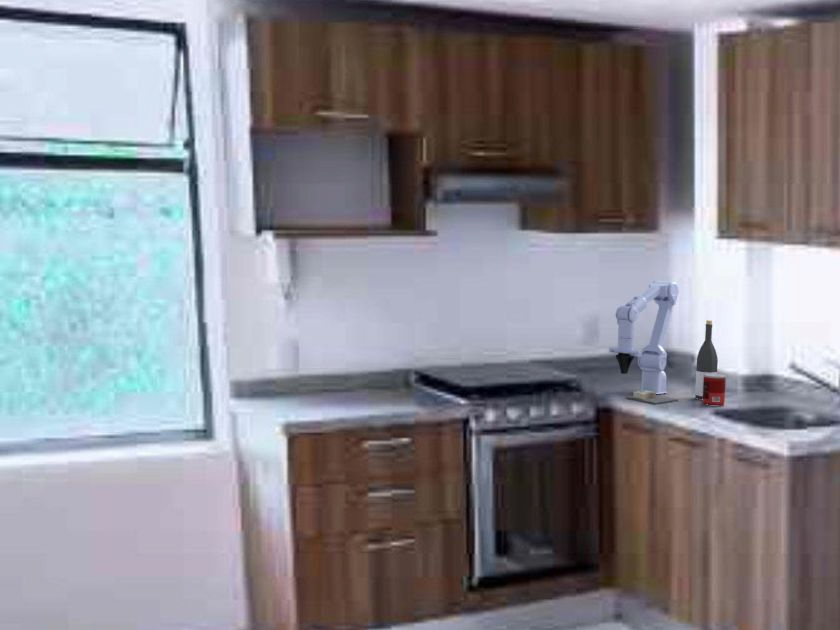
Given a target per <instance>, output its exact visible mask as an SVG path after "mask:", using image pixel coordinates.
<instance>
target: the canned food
mask: <svg viewBox="0 0 840 630" xmlns="http://www.w3.org/2000/svg"><path fill="white" fill-rule="evenodd" d="M726 381H727V376H726V375H725V374H722V373H717V374H714V373H708V374H704V381H703V400H702V404H703V403H704V404H708V405H723V406H724V405H725V402H726V401H725V398H726V385H727V384H726ZM704 404H703V405H704ZM708 405H707V406H708Z"/></svg>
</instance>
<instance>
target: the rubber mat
mask: <svg viewBox="0 0 840 630" xmlns="http://www.w3.org/2000/svg"><path fill="white" fill-rule="evenodd" d="M625 398H626V399H627V400H632V401H638V402H642V403H646V404H650V405H660V404H659V403H662V404H667V403H666V402H669V403H673V402H672V401H676V402H678V401H679V399H676V398H674V397H672V398H671V397H666V396H661V395H658V394H657V395H656V398H650V399H639V398H634V397H633V395H630V396H626V397H625Z"/></svg>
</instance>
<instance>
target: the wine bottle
mask: <svg viewBox="0 0 840 630" xmlns="http://www.w3.org/2000/svg"><path fill="white" fill-rule="evenodd" d="M705 323H706V324H705V333H704V334H705V335H704V336H705V337H704V341H703V343H702V345H701V346H700V348H699V350H698V353H697V357H696V372H695V374H696V375H695V389H694V390H695V394H694V395H695V396H694V397H695V399H696V398H698V399H703V381H704V374H708V373H714V374H718V361H719V360H718V354H717V351H716V348H715V346H714V343H713V341H712V338H713V337H712V333H713V321H712V320H711V319H709V320H708V319H707V320H706V321H705ZM698 399H697V400H698Z"/></svg>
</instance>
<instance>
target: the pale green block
mask: <svg viewBox="0 0 840 630" xmlns="http://www.w3.org/2000/svg"><path fill="white" fill-rule="evenodd" d="M637 391H638V392H637ZM637 391H633V395H632V396H633V397H634V398H639V399H650V398H656V392H651V391H641V390H637Z"/></svg>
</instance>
